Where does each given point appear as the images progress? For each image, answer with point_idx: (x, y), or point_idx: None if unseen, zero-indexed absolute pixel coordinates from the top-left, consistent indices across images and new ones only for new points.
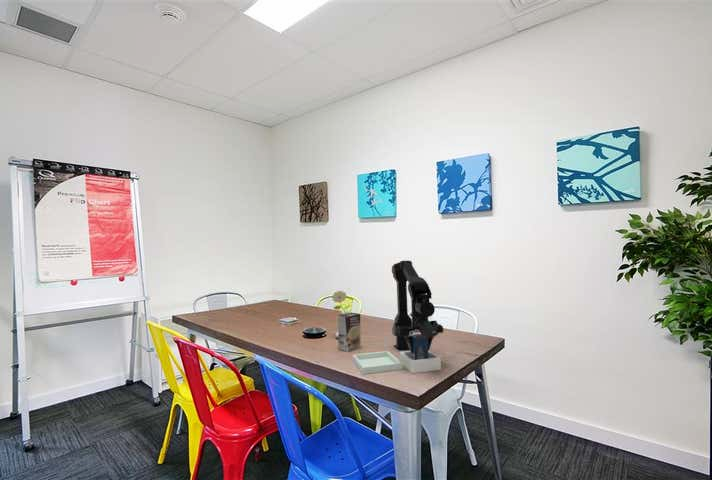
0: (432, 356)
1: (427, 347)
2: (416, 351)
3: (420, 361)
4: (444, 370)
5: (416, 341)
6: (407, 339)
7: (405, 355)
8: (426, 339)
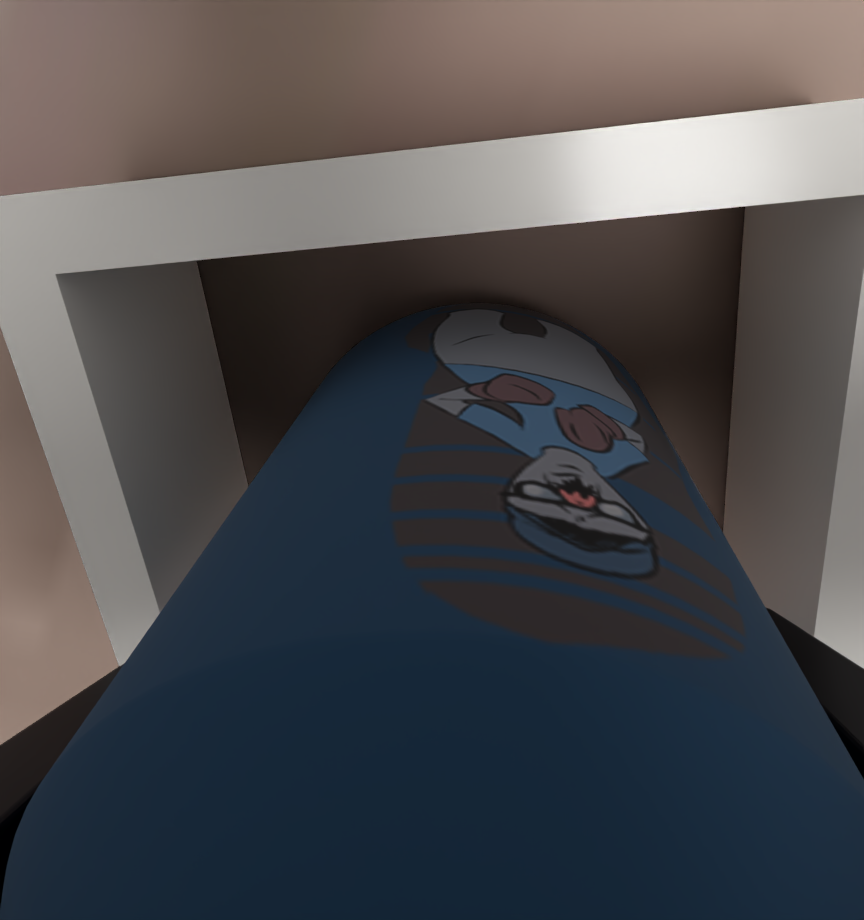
0: (157, 505)
1: (207, 556)
2: (685, 500)
3: (648, 123)
4: (62, 122)
5: (828, 846)
6: None
7: (860, 632)
8: (49, 905)
